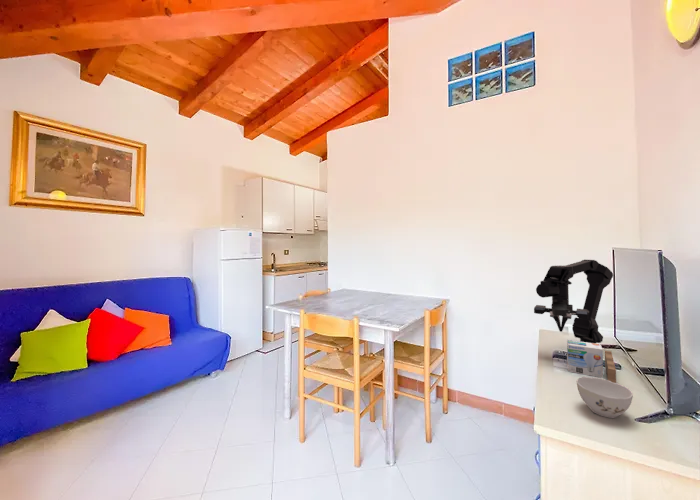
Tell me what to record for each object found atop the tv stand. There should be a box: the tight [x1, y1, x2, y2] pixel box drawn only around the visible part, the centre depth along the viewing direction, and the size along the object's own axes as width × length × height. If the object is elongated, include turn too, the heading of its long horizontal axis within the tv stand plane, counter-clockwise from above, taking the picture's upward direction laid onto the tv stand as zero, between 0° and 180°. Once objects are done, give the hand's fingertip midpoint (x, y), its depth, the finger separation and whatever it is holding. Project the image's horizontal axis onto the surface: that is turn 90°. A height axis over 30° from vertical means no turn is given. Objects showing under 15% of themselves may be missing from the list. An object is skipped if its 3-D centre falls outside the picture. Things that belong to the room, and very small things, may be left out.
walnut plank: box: [604, 350, 617, 383], centre depth 107 cm, size 20×2×6 cm, turn 141°
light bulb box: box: [566, 339, 604, 379], centre depth 111 cm, size 11×7×11 cm, turn 55°
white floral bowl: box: [576, 376, 634, 419], centre depth 86 cm, size 15×12×8 cm
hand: (561, 331), depth 123 cm, fingers closed
